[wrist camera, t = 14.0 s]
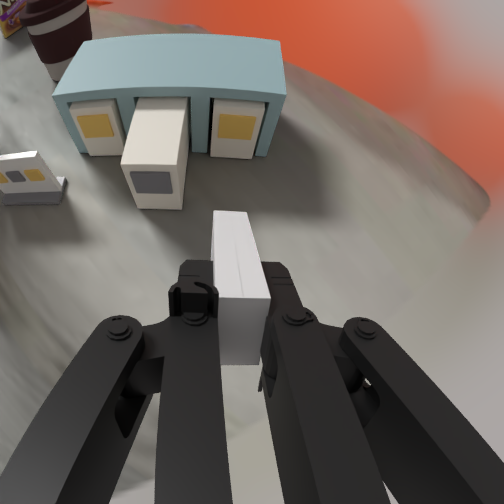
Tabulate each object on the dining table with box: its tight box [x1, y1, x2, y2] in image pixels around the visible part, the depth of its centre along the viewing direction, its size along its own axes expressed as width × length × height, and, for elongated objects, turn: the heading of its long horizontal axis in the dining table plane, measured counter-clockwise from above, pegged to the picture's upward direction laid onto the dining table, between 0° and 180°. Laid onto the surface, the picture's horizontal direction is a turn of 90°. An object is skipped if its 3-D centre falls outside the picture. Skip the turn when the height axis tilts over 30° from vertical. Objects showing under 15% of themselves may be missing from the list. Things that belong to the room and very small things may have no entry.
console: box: [52, 34, 287, 157], centre depth 28 cm, size 21×9×10 cm, turn 90°
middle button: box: [120, 96, 191, 210], centre depth 27 cm, size 4×10×8 cm, turn 0°
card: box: [0, 151, 67, 205], centre depth 24 cm, size 8×3×7 cm, turn 90°
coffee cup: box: [18, 0, 92, 81], centre depth 27 cm, size 10×10×15 cm
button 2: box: [210, 98, 265, 159], centre depth 30 cm, size 4×10×8 cm, turn 0°
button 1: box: [69, 98, 127, 156], centre depth 28 cm, size 4×10×8 cm, turn 0°
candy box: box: [0, 0, 27, 38], centre depth 30 cm, size 9×4×15 cm, turn 137°
